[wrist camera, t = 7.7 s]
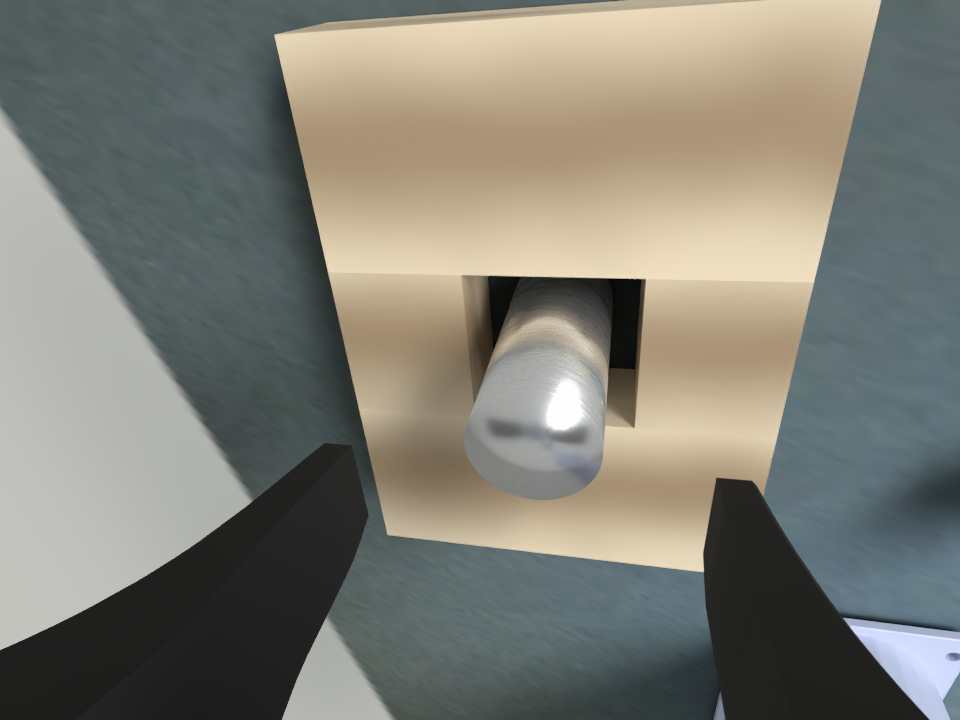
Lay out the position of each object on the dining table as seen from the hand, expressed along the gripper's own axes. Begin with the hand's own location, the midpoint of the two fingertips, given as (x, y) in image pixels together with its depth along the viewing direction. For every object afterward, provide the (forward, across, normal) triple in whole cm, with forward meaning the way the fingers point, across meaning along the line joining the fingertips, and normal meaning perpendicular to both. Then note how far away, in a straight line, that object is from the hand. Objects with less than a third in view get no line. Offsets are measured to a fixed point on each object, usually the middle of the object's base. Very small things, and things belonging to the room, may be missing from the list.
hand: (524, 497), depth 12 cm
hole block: (+8, 0, 0) cm, 8 cm away
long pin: (+8, 0, 0) cm, 8 cm away
